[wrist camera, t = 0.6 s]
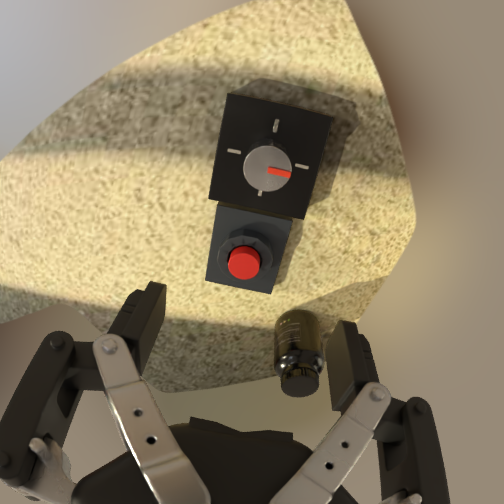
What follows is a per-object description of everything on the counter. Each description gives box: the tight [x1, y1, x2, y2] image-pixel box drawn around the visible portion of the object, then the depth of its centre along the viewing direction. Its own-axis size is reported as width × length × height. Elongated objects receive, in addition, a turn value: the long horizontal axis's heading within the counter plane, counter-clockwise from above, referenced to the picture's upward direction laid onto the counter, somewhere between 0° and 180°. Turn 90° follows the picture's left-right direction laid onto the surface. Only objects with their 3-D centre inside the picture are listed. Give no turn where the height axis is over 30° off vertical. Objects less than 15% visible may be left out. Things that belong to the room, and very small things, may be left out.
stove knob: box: [243, 138, 291, 192], centre depth 30 cm, size 4×4×5 cm
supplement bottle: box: [274, 310, 324, 397], centre depth 42 cm, size 7×7×12 cm
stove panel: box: [208, 92, 333, 220], centre depth 34 cm, size 12×11×3 cm
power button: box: [228, 246, 260, 279], centre depth 38 cm, size 4×4×2 cm
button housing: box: [205, 201, 293, 294], centre depth 40 cm, size 11×9×4 cm
